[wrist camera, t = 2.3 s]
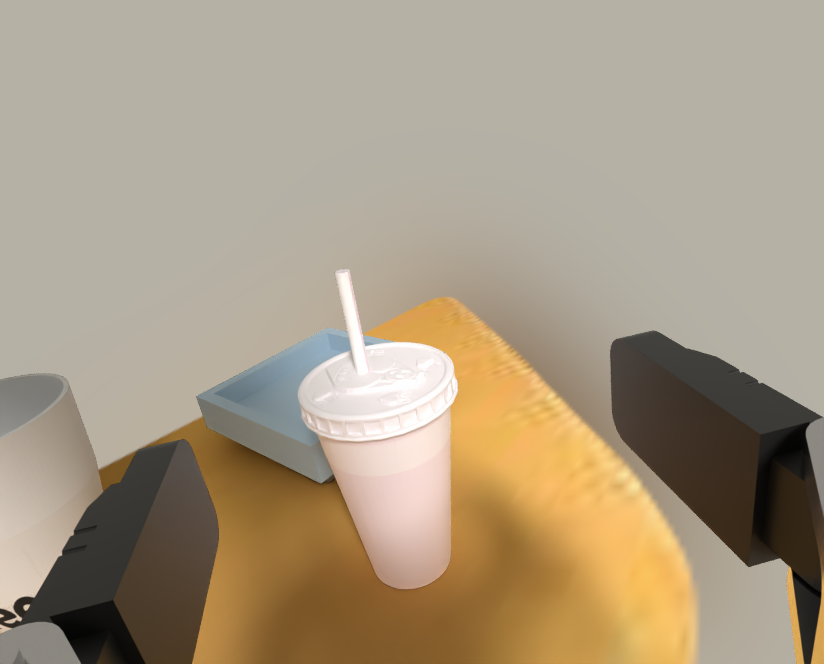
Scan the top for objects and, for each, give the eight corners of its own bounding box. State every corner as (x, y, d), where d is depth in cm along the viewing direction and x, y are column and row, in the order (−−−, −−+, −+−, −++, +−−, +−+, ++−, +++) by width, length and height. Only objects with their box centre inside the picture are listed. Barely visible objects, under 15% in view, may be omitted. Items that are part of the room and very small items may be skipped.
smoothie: (385, 498, 30) (331, 247, 24) (498, 523, 27) (466, 244, 21) (317, 592, 24) (229, 301, 19) (449, 636, 21) (390, 306, 16)
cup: (-73, 628, 26) (-195, 455, 22) (89, 514, 32) (16, 364, 28) (9, 699, 22) (-125, 503, 18) (176, 554, 28) (104, 384, 24)
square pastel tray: (327, 507, 30) (310, 446, 28) (214, 447, 37) (196, 396, 35) (452, 404, 37) (444, 352, 36) (338, 372, 45) (327, 327, 43)
